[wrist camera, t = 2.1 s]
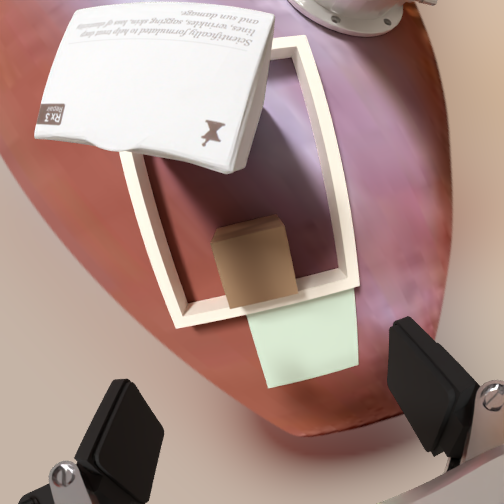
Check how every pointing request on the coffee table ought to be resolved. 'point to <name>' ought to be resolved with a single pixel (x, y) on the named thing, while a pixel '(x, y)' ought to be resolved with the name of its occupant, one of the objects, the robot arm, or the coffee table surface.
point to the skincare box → (161, 81)
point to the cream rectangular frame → (335, 192)
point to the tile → (306, 338)
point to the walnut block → (254, 261)
